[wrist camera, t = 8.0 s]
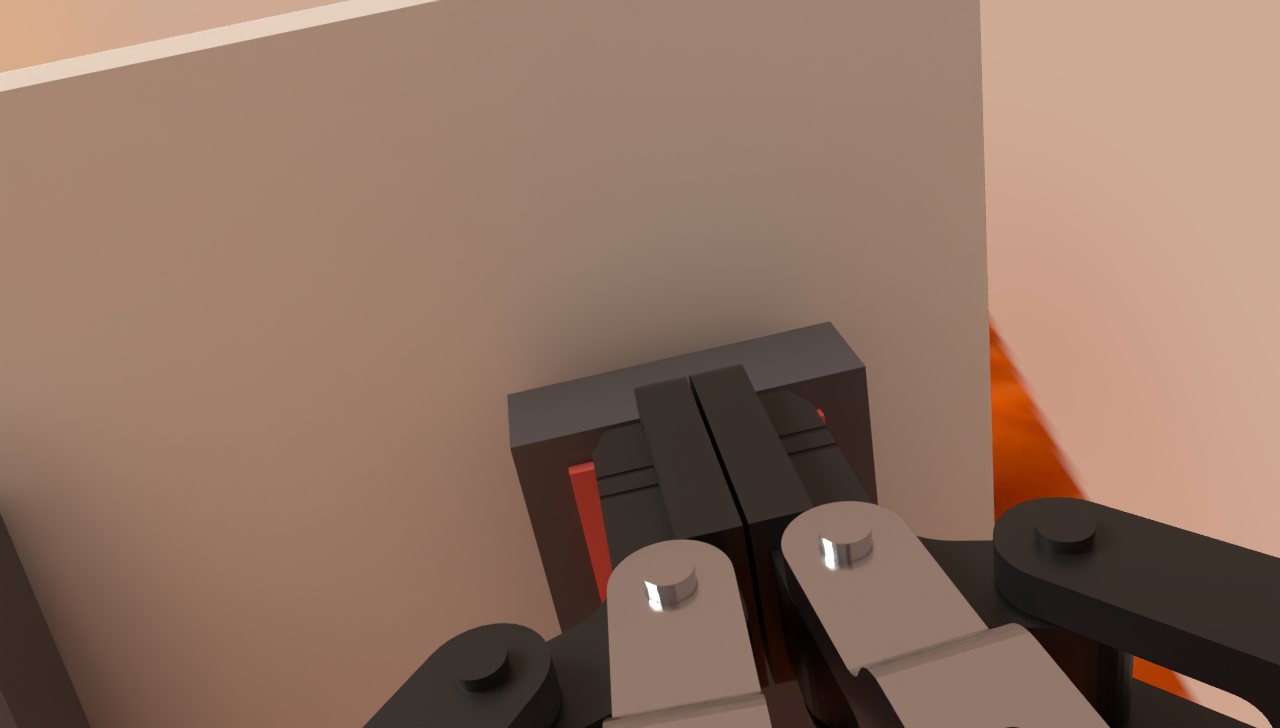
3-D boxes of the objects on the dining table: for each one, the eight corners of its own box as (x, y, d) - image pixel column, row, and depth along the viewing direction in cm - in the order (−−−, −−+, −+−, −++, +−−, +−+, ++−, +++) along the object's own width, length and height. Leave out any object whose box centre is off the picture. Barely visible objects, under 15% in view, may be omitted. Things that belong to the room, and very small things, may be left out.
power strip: (1082, 960, 21) (1110, -120, 12) (-139, 1280, 20) (-1146, 353, 11) (903, 638, 30) (840, -120, 21) (53, 845, 29) (-408, 137, 20)
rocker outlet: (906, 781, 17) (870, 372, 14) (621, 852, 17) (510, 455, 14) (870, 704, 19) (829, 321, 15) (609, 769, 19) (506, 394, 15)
